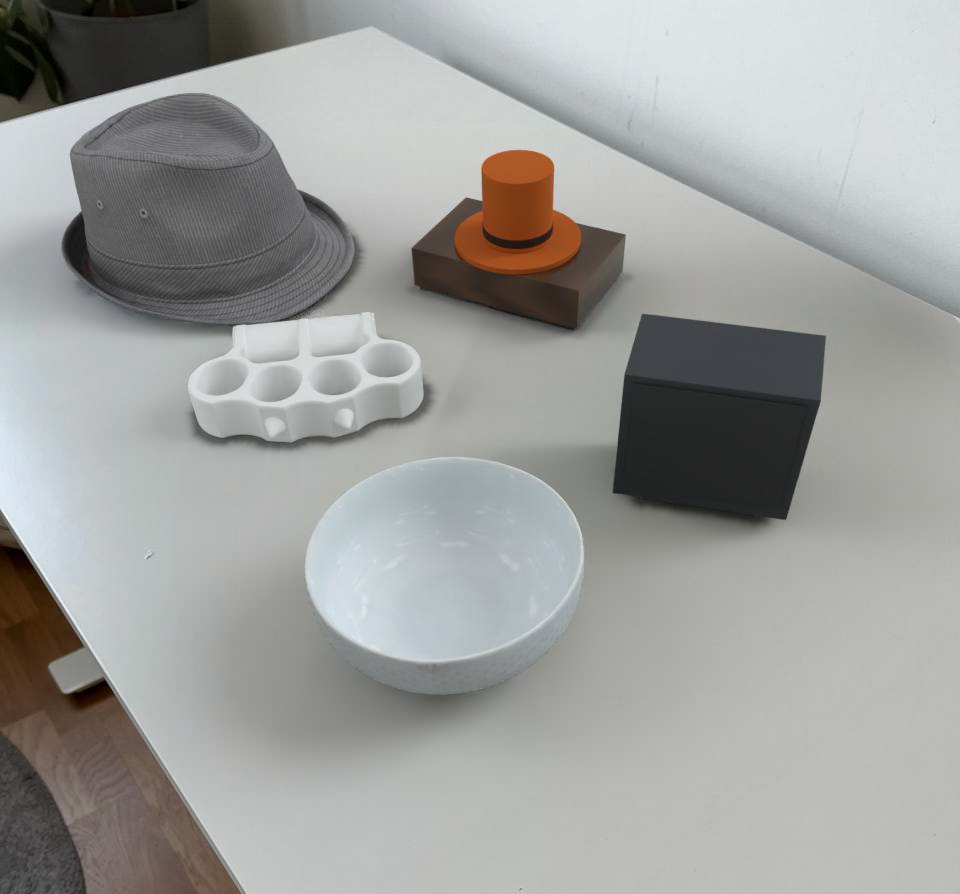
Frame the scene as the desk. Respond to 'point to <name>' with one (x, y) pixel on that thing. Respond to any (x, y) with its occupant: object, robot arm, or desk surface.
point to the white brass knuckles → (306, 380)
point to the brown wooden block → (536, 295)
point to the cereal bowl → (445, 573)
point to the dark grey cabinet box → (717, 414)
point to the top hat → (517, 218)
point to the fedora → (198, 217)
